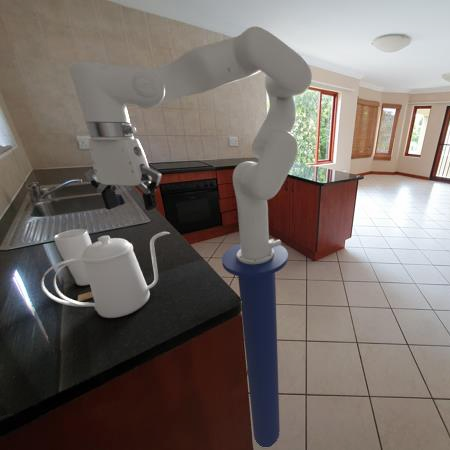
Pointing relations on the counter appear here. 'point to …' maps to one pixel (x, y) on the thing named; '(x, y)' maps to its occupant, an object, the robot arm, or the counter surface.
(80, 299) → the marker strip
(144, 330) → the counter surface
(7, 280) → the counter surface
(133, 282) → the coffeepot
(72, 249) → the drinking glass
